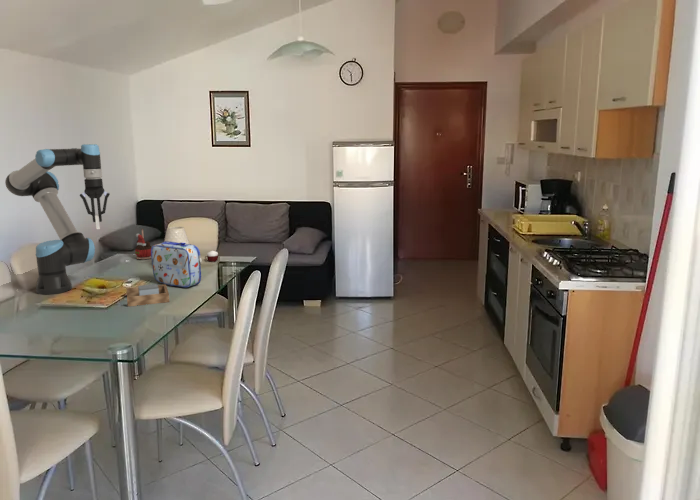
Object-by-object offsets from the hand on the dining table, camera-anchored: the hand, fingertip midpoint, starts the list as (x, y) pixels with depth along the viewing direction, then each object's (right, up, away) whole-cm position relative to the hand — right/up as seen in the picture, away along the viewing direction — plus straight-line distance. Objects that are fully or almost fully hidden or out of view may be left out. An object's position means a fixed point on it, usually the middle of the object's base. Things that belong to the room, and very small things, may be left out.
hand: (98, 228), depth 263 cm
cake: (-5, -15, +74) cm, 75 cm away
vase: (+24, -21, +46) cm, 56 cm away
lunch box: (+34, -27, +14) cm, 45 cm away
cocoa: (+38, -17, +65) cm, 77 cm away
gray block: (+28, -32, -10) cm, 44 cm away
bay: (+27, -32, -11) cm, 43 cm away
